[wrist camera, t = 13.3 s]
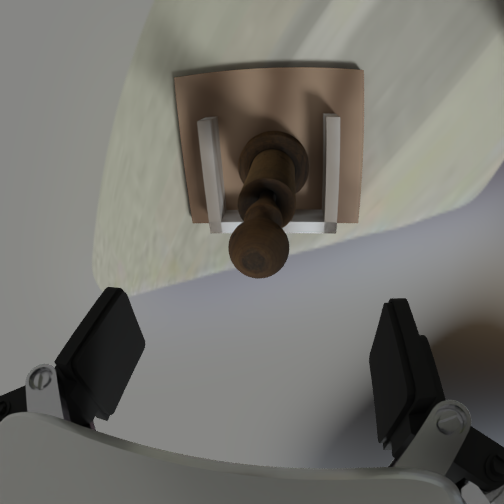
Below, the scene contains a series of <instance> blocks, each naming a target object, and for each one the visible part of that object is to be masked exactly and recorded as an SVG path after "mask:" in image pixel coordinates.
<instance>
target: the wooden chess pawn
mask: <svg viewBox="0 0 504 504" xmlns="http://www.w3.org/2000/svg"><path fill="white" fill-rule="evenodd" d="M238 172H239V176H240V179H241V181H242V183H243V184H244V185H243V187H242V189H241V192H240V194H239V197H238V202H237V207H238V212H239V215H240V217H241V219H242V220H243V221H244V222H242V223H241V224H240V225H238V226H237V227H236V229H235V230H234V231H233V233H232V235H231V237H230V240H229V255H230V258H231V261H232V263H233V264H234V266H235V267H236V268H237V269H238V270H239V271H240V272H241V273H243V274H244V275H246V276H248V277H252V278H266V277H269V276H272V275H273V274H275V273H277V272H278V271H279V270H280V269H281V268H282V267H283V266H284V264H285V262H286V260H287V258H288V254H289V241H288V238H287V235H286V233H285V232H284V230H283V229H282V228H283V227H285V226H286V225H287V224H288V223H289V222H290V221H291V220H292V218H293V216H294V214H295V210H296V193H298V192H299V191H300V190H301V189H302V187H303V186H304V185H305V183H306V181H307V179H308V175H309V160H308V156H307V153H306V150H305V148H304V147H303V145H302V144H301V143H300V142H299V141H298V140H297V139H296V138H295V137H293V136H292V135H290V134H288V133H285V132H281V131H267V132H263V133H260V134H258V135H256V136H254V137H253V138H252V139H250V140H249V141H248V142H247V144H246V145H245V147H244V148H243V150H242V152H241V154H240V157H239V161H238Z"/></svg>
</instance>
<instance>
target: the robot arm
mask: <svg viewBox="0 0 504 504" xmlns="http://www.w3.org/2000/svg"><path fill="white" fill-rule="evenodd" d="M144 348H145V340H144V337H143V335H142V333H141V330H140V327H139V325H138V322H137V320H136V317H135V315H134V312H133V309H132V307H131V304H130V301H129V298H128V296H127V294H126V293H125V292H124V291H123V289H121V288H114V287H107V288H106V289H105V290H104V292H103V293H102V294H101V296H100V297H99V298H98V300H97V301H96V302H95V304H94V305H93V306H92V308H91V309H90V311H89V312H88V314H87V315H86V316H85V318H84V319H83V321H82V322H81V323H80V325H79V326H78V327H77V329H76V330H75V332H74V333H73V335H72V336H71V338H70V339H69V341H68V342H67V343H66V345H65V347H64V348H63V349H62V351H61V352H60V354H59V355H58V357H57V359H56V360H55V364H56V366H55V368H54V367H53V366H51V365H49V364H42V365H38V366H36V367H35V368H34V369H33V370H31V371H30V373H29V374H28V376H27V378H26V385H25V386H23V387H21V388H18V389H16V390H14V391H11V392H9V393H7V394H4V395H2V396H0V504H504V447H502V446H501V445H499V444H498V443H496V442H495V441H493V440H491V439H490V438H488V437H487V436H485V435H484V434H482V433H481V432H479V431H478V430H476V429H474V428H473V427H471V416H470V413H469V411H468V410H467V408H466V407H465V406H464V405H463V404H461V403H460V402H457V401H454V400H445V396H444V393H443V389H442V385H441V382H440V378H439V375H438V372H437V368H436V365H435V361H434V358H433V355H432V352H431V349H430V345H429V342H428V340H427V338H426V337H425V336H424V335H419V334H418V330H417V327H416V324H415V321H414V318H413V315H412V312H411V310H410V307H409V304H408V301H407V299H405V298H398V299H390V300H389V302H388V303H384V305H383V309H382V313H381V317H380V321H379V325H378V328H377V331H376V335H375V339H374V342H373V345H372V349H371V352H370V358H369V363H370V371H371V378H372V386H373V395H374V403H375V413H376V423H377V434H378V441H379V443H383V448H384V450H391V449H392V456H393V457H394V460H393V461H392V462H391V464H390V465H389V466H388V467H380V468H379V467H377V468H343V469H315V468H284V467H269V466H257V465H247V464H238V463H230V462H224V461H216V460H210V459H204V458H199V457H193V456H188V455H183V454H178V453H173V452H169V451H165V450H160V449H156V448H152V447H148V446H144V445H141V444H137V443H133V442H130V441H126V440H123V439H120V438H116V437H113V436H110V435H107V434H104V433H101V432H98V431H96V429H95V426H94V422H93V419H94V417H95V416H96V417H97V418H100V419H103V420H106V421H107V420H108V418H109V416H110V415H112V414H113V413H114V412H115V409H116V407H117V405H118V403H119V401H120V399H121V396H122V394H123V392H124V390H125V388H126V386H127V384H128V381H129V379H130V377H131V375H132V373H133V371H134V369H135V367H136V365H137V363H138V361H139V359H140V357H141V355H142V353H143V350H144Z"/></svg>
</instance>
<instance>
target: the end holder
mask: <svg viewBox="0 0 504 504" xmlns="http://www.w3.org/2000/svg"><path fill="white" fill-rule="evenodd" d="M174 81H175V91H176V101H177V110H178V119H179V128H180V136H181V144H182V152H183V160H184V167H185V175H186V182H187V189H188V196H189V202H190V209H191V215H192V222H193V223H209V226H210V233H233V231H234V230H235V229H236V227H237V226H238V225H240V224H241V223H242V222H244V221H243V220H242V219H241V217H240V215H239V212H238V207H237V202H238V197H239V194H240V192H241V189H242V187H243V185H244V184H243V183H242V181H241V179H240V176H239V172H238V161H239V157H240V154H241V152H242V150H243V148H244V147H245V145H246V144H247V142H248V141H249V140H250V139H252V138H253V137H254V136H256V135H258V134H260V133H263V132H267V131H281V132H285V133H288V134H290V135H292V136H293V137H295V138H296V139H297V140H298V141H299V142H300V143H301V144H302V145H303V147H304V148H305V150H306V153H307V156H308V160H309V175H308V179H307V181H306V183H305V185H304V186H303V187H302V189H301V190H300V191H299V192H298V193H296V210H295V214H294V216H293V218H292V220H291V221H290V222H289V223H288V224H287V225H286V226H285V227H283V228H282V229H283V230H284V232H285V233H336V228H337V223H358V218H359V207H360V194H361V180H362V162H363V138H364V70H356V69H341V68H314V67H284V68H257V69H242V70H230V71H220V72H210V73H202V74H195V75H188V76H181V77H175V78H174Z"/></svg>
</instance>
